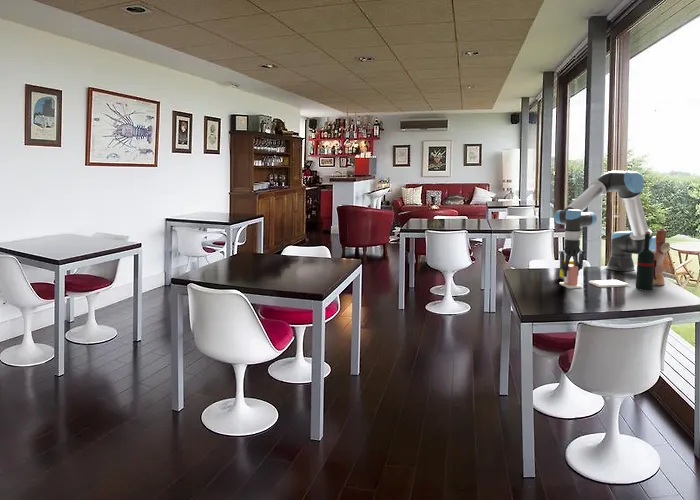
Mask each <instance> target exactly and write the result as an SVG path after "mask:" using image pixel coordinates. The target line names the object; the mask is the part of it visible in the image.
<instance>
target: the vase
mask: <svg viewBox="0 0 700 500" xmlns="http://www.w3.org/2000/svg"><path fill="white" fill-rule="evenodd" d="M655 236H656V251H655V250H652V252H653V253H654V255H655V256H654V260H656V261H657V262H656V267H655V277H656V279H654V277H653V286H656V285H658V286H660V285H663V286H665V283H666V282H665V277H664V274H663V261H664V259H665V257H666V252H668V251H669V250H670V248H671V243H670V242H668V241H666V237H667V229H665V228H657V230H656V235H655ZM658 286H657V287H658Z"/></svg>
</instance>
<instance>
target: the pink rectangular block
mask: <svg viewBox="0 0 700 500" xmlns="http://www.w3.org/2000/svg"><path fill="white" fill-rule="evenodd" d="M567 271H569V277H568V283H565V282H564V280H565V277H564V280H563V281H560V282H559V285H560V286H563V287H565V288H567V289H570V290H571V289H583V286H582V285H580V284H578V279H579V278H578V277H579V274H578V266H575V265H572V264H569V265H568V270H567Z"/></svg>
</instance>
